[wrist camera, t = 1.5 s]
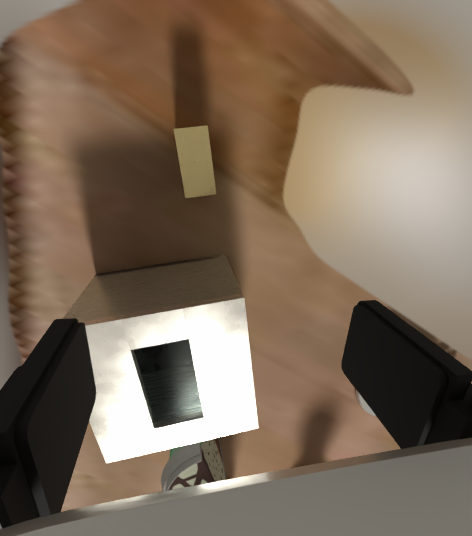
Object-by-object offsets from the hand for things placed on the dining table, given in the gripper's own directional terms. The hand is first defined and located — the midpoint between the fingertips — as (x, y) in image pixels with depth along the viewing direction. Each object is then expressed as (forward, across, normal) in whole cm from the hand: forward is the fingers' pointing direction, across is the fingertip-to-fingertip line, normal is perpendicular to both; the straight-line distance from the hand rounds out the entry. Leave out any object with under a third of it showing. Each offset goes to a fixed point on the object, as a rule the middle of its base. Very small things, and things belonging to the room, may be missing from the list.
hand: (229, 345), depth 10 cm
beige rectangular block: (+23, 0, -5) cm, 23 cm away
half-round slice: (+22, +1, +29) cm, 37 cm away
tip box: (+22, +2, +12) cm, 26 cm away
